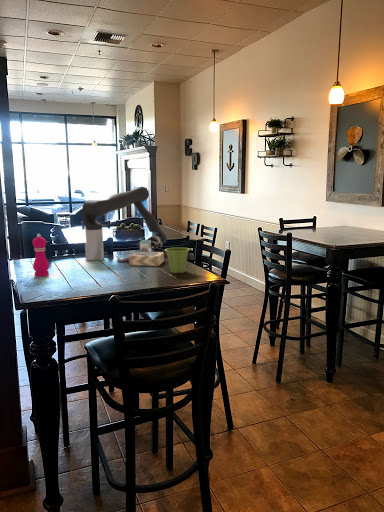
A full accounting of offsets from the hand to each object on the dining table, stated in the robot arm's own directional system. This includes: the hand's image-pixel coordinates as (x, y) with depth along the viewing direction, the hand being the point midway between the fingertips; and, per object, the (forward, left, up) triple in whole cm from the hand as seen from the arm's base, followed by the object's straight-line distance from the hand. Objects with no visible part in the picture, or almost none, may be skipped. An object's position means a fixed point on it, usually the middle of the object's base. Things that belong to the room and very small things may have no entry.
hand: (147, 246), depth 242 cm
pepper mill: (-39, -53, -6) cm, 66 cm away
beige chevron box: (+4, -19, -6) cm, 20 cm away
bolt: (-10, -17, -6) cm, 20 cm away
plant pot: (+24, -39, -6) cm, 46 cm away
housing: (0, -5, -6) cm, 8 cm away
